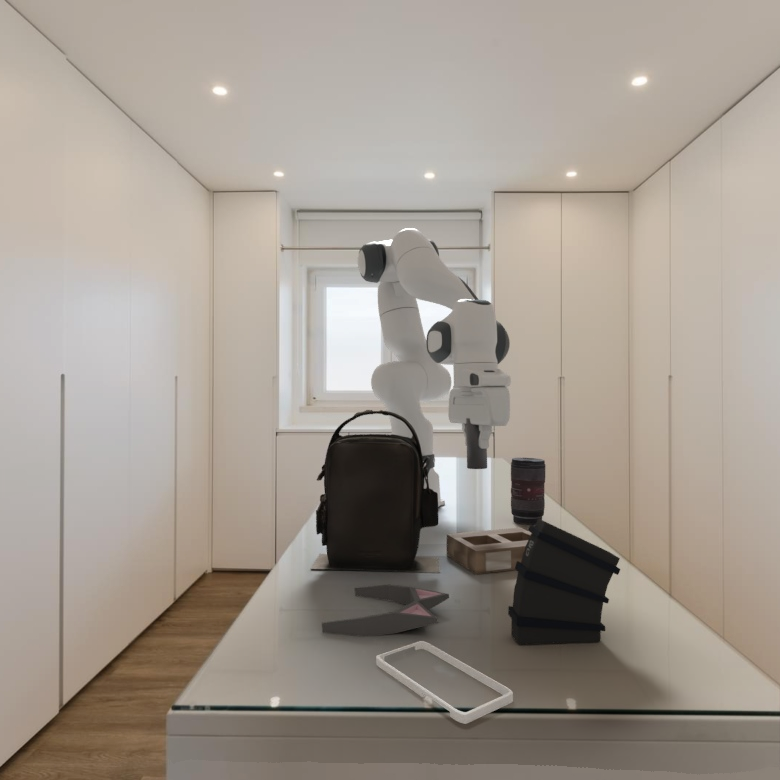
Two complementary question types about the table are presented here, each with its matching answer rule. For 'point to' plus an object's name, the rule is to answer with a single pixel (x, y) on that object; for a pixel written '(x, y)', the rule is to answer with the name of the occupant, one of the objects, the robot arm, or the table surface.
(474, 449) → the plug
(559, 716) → the table surface
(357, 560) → the shoulder bag
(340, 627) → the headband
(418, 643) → the phone case
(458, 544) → the socket block
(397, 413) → the robot arm
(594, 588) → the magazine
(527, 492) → the camera lens
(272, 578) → the table surface
